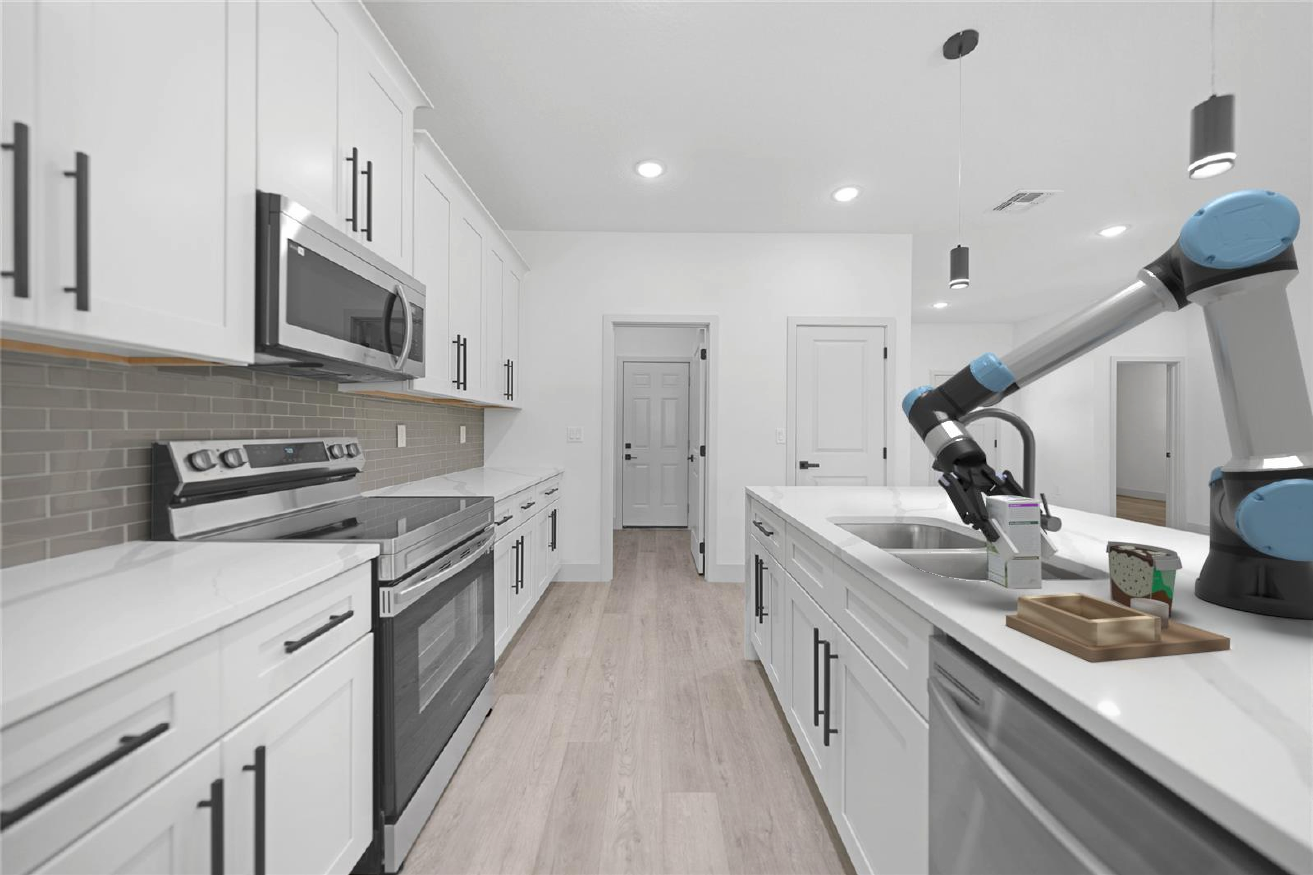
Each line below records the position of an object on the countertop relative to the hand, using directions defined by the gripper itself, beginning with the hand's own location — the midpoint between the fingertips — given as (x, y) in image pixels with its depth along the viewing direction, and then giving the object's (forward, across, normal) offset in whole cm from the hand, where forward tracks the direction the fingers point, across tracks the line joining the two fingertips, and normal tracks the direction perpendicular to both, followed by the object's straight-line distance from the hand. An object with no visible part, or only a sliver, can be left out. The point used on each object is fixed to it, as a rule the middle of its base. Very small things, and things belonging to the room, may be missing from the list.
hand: (1031, 556), depth 85 cm
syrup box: (+1, 0, -7) cm, 7 cm away
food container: (+8, -20, -5) cm, 23 cm away
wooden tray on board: (+14, -3, +1) cm, 14 cm away
